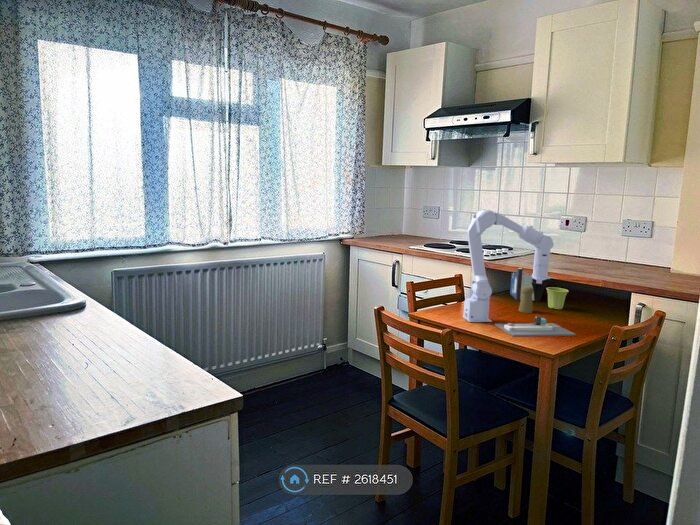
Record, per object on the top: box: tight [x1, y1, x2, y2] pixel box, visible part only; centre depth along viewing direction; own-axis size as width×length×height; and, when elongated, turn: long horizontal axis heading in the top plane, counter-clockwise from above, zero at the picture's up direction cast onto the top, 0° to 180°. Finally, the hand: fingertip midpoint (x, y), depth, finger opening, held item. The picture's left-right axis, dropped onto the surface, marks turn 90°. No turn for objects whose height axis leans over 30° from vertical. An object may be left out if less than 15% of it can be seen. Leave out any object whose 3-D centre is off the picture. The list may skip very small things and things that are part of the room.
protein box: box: [509, 268, 538, 302], centre depth 259 cm, size 10×15×16 cm
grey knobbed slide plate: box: [494, 322, 577, 337], centre depth 199 cm, size 25×15×2 cm, turn 100°
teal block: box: [541, 317, 547, 324], centre depth 203 cm, size 3×2×3 cm
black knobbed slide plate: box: [512, 315, 550, 326], centre depth 199 cm, size 14×2×4 cm, turn 100°
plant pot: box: [545, 286, 569, 310], centre depth 239 cm, size 9×9×9 cm
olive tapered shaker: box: [518, 286, 534, 314], centre depth 230 cm, size 6×6×11 cm
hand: (537, 298), depth 211 cm, fingers open, 7 cm apart
